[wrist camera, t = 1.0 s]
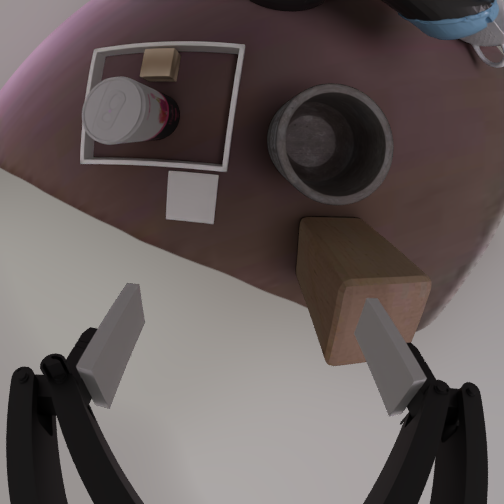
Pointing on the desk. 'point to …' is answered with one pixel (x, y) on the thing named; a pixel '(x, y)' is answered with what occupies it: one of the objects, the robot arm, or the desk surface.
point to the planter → (331, 144)
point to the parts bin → (101, 53)
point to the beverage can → (128, 112)
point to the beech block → (160, 65)
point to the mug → (490, 37)
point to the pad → (191, 196)
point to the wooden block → (355, 283)
